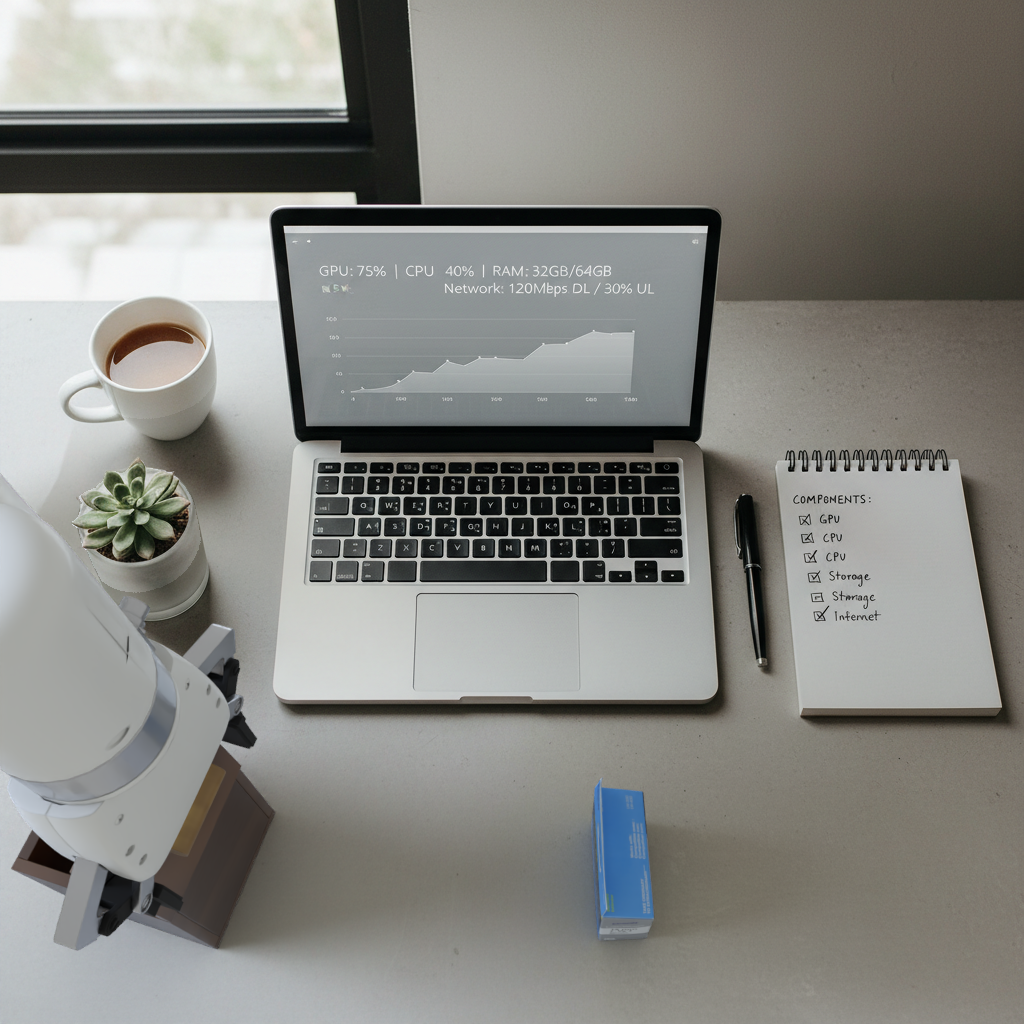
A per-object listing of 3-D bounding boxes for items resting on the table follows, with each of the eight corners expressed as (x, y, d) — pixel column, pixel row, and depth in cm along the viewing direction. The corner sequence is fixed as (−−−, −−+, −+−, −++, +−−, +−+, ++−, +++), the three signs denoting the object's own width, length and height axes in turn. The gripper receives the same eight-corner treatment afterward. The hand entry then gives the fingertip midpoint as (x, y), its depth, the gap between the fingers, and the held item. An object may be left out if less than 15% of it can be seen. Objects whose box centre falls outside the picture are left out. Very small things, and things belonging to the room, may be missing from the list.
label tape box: (647, 941, 73) (666, 910, 63) (592, 942, 73) (603, 911, 63) (637, 820, 78) (654, 773, 67) (586, 821, 78) (594, 774, 67)
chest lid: (68, 872, 53) (146, 897, 52) (161, 692, 58) (233, 711, 57) (160, 919, 63) (226, 941, 62) (231, 762, 68) (294, 780, 67)
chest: (79, 902, 75) (10, 868, 65) (145, 771, 81) (90, 721, 71) (217, 949, 73) (168, 922, 63) (275, 811, 79) (238, 766, 69)
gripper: (105, 527, 48) (204, 665, 63) (-109, 882, 39) (64, 948, 54) (246, 564, 47) (313, 697, 61) (57, 940, 38) (187, 991, 53)
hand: (196, 814), depth 58 cm, fingers open, 9 cm apart
